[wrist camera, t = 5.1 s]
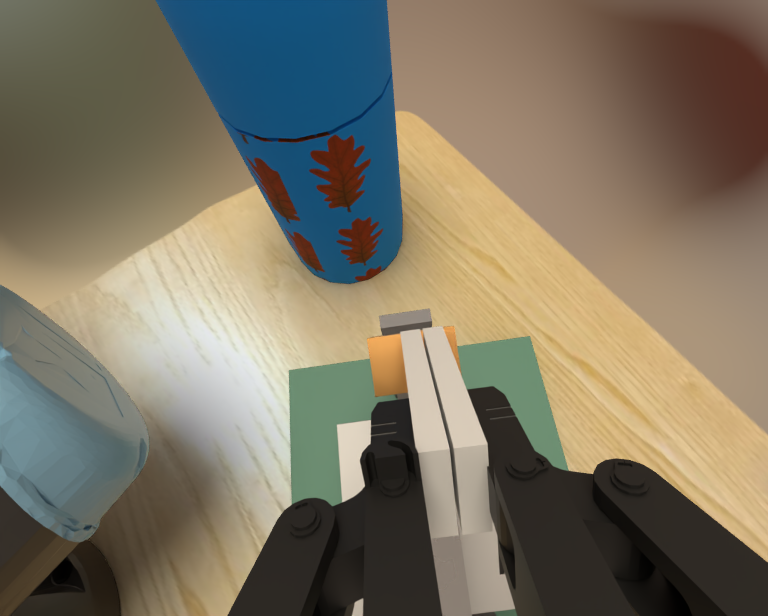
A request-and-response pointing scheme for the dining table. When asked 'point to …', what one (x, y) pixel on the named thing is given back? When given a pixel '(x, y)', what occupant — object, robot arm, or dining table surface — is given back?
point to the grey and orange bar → (448, 549)
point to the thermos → (307, 118)
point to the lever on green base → (357, 399)
